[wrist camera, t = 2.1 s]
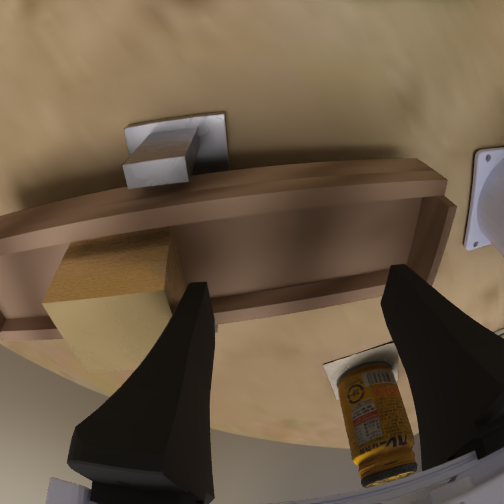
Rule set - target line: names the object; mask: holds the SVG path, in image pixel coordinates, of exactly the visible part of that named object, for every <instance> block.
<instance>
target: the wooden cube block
mask: <svg viewBox="0 0 504 504" xmlns="http://www.w3.org/2000/svg"><path fill="white" fill-rule="evenodd" d="M186 288H187V286H186V282H185V278H184V274H183V270H182V266H181V261H180V257H179V253H178V249H177V245H176V240H175V236H174V231H173V227H172V226H167V227H160V228H154V229H147V230H141V231H134V232H128V233H122V234H116V235H110V236H104V237H98V238H92V239H86V240H81V241H75V242H71V243H70V245H69V247H68V249H67V251H66V253H65V255H64V257H63V259H62V261H61V263H60V265H59V267H58V269H57V271H56V273H55V275H54V277H53V280H52V282H51V284H50V286H49V288H48V291H47V293H46V295H45V297H44V300H43V302H42V305H43V306H44V308H45V310H46V311H47V313H48V315H49V316H50V318H51V320H52V321H53V323H54V324H55V326H56V327H57V329H58V331H59V332H60V334H61V335H62V337H63V338H64V340H65V341H66V343H67V344H68V345H69V347H70V348H71V350H72V351H73V353H74V354H75V356H76V357H77V358H78V360H79V361H80V362H81V364H82V365H83V367H84V368H85V369H86V371H87V372H90V371H117V370H136V369H137V367H138V366H139V365H140V364H141V362H142V361H143V360H144V358H145V357H146V356H147V354H148V353H149V352H150V350H151V349H152V347H153V346H154V344H155V343H156V341H157V340H158V338H159V337H160V335H161V334H162V332H163V331H164V329H165V327H166V326H167V324H168V322H169V320H170V319H171V317H172V315H173V313H174V312H175V310H176V308H177V306H178V304H179V302H180V300H181V298H182V296H183V294H184V292H185V290H186Z"/></svg>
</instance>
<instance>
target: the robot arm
mask: <svg viewBox="0 0 504 504" xmlns="http://www.w3.org/2000/svg"><path fill="white" fill-rule="evenodd" d="M486 156H487V158H486ZM489 244H493V245H494V246H495V247H496V248H497V250H498V251H499V252H500V253H501V254H502V255H503V256H504V147H500V148H491V149H483V150H479V151H477V153H476V154H475V162H474V175H473V185H472V194H471V203H470V210H469V217H468V224H467V230H466V236H465V241H464V247H465V249H466V250H468V251H469V250H473V249H476V248H479V247H483V246H486V245H489ZM381 307H382V311H383V314H384V318H385V321H386V325H387V327H388V330H389V332H390V335H391V337H392V339H393V342H394V344H395V347H396V349H397V351H398V354H399V356H400V359H401V361H402V364H403V366H404V368H405V371H406V374H407V377H408V380H409V384H410V388H411V392H412V396H413V400H414V405H415V410H416V415H417V421H418V428H419V435H420V445H421V459H422V471H423V472H420V473H417V474H414V475H411V476H408V477H404V478H401V479H398V480H395V481H391V482H388V483H384V484H380V485H377V486H373V487H369V488H365V489H360V490H356V491H351V492H347V493H342V494H337V495H332V496H326V497H320V498H313V499H306V500H299V501H290V502H281V503H269V504H381V503H385V502H388V501H392V500H395V499H398V498H401V497H405V496H408V495H411V494H413V493H416V492H419V491H422V490H425V489H427V488H430V487H433V486H435V485H438V484H440V483H443V482H445V481H448V480H449V482H448V484H447V485H445V486H443V487H440V488H438V489H436V490H434V491H431V492H429V493H428V494H426V495H424V496H422V497H421V498H418V499H416V500H413V501H411V502H410V503H409V504H504V338H502V337H500V336H499V335H497V334H495V333H494V332H492V331H490V330H489V329H487V328H485V327H484V326H482V325H481V324H479V323H478V322H476V321H475V320H473V319H472V318H471V317H469V316H468V315H466V314H465V313H464V312H462V311H461V310H460V309H459V308H457V307H456V306H455V305H453V304H452V303H451V302H450V301H449V300H447V299H446V298H445V297H444V296H442V295H441V294H440V293H439V292H438V291H437V290H435V289H434V288H433V287H432V286H431V285H430V284H428V283H427V282H426V281H425V280H424V279H423V278H421V277H420V276H419V275H418V274H417V273H415V272H414V271H413V270H412V269H411V268H409V267H408V266H407V265H405V264H398V265H391V266H390V270H389V274H388V278H387V282H386V285H385V289H384V293H383V296H382V300H381ZM214 350H215V319H214V314H213V309H212V305H211V300H210V295H209V290H208V285H207V281H206V282H191V283H189V284H188V286H187V288H186V290H185V292H184V294H183V296H182V298H181V300H180V302H179V304H178V306H177V308H176V310H175V312H174V313H173V315H172V317H171V319H170V320H169V322H168V324H167V326H166V327H165V329H164V331H163V332H162V334H161V335H160V337H159V338H158V340H157V341H156V343H155V344H154V346H153V347H152V349H151V350H150V352H149V353H148V354H147V356H146V357H145V358H144V360H143V361H142V362H141V364H140V365H139V366H138V367H137V369H136V370H135V371H134V372H133V373H132V375H131V376H130V377H129V378H128V379H127V380H126V382H125V383H124V384H123V385H122V386H121V387H120V388H119V389H118V390H117V391H116V392H115V393H114V394H113V395H112V396H111V397H110V398H109V399H108V400H107V401H106V402H105V403H104V404H103V405H102V406H100V407H99V408H98V409H97V410H96V411H95V412H93V413H92V414H91V415H90V416H88V417H87V418H86V419H85V420H84V421H82V422H81V423H80V424H78V425H77V426H76V427H75V430H74V433H73V436H72V440H71V444H70V449H69V454H68V459H67V464H68V465H69V466H70V468H71V469H73V470H74V471H76V472H78V473H80V474H81V475H83V476H84V477H86V478H88V479H90V480H92V481H93V482H92V489H89V488H87V487H85V486H82V485H79V484H76V483H72V482H68V481H64V480H60V479H57V478H54V477H51V478H50V481H49V487H48V493H47V500H46V504H209V503H210V502H211V501H212V500H213V499H214V498H215V497H214V487H213V475H212V462H211V443H210V390H211V380H212V370H213V360H214Z"/></svg>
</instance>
